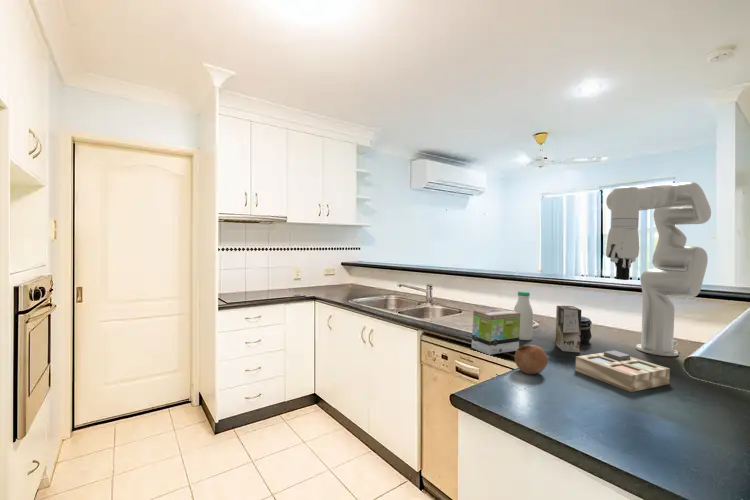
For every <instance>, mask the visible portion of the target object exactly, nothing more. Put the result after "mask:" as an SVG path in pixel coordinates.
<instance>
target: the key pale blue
mask: <svg viewBox="0 0 750 500" xmlns="http://www.w3.org/2000/svg"><path fill="white" fill-rule="evenodd" d="M591 360H594V361H596V362H599V363H602V364H605V363H611V362H610V361H607V360H603V359H600V358H594V359H591Z"/></svg>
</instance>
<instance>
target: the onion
mask: <svg viewBox="0 0 750 500" xmlns="http://www.w3.org/2000/svg"><path fill="white" fill-rule="evenodd" d="M548 359H549V358H548V356H547V353H546V352H545V350H544V349H543V347H540V346H538V345H535V344H524V345H521V346H520V345H519V348H518V349H517V351H515V354H514V363H515V365H516V367H517V368H518V369H519V370H520V371H521V372H522V373H524V374H527V375H535V374H536V375H537V374H540V373H542V372H543V371H544V370H545V368H546V367H547V366H548V364H549V363H548V361H549V360H548Z"/></svg>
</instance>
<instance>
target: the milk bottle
mask: <svg viewBox="0 0 750 500" xmlns="http://www.w3.org/2000/svg"><path fill="white" fill-rule="evenodd" d="M530 295H531V294H530V292H529V291H525V290H521V291H520V290H519V291H518V292H517V297H518V298H517V302H516V303H515V305H514V307H513V311H514V312H518V313H520V332H519V339H520V340H519V341H531V340H532V339H533V332H534V331H533V328H534V323H533V321H534V311H533V308H532V307H533V306H532V304H531V303H530Z"/></svg>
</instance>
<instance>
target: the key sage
mask: <svg viewBox="0 0 750 500" xmlns="http://www.w3.org/2000/svg"><path fill="white" fill-rule="evenodd" d="M631 365H634V366H637V367H640V368H643V369H651V368H653V367H650V366H647V365H643V364H640V363H635V364H631Z"/></svg>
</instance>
